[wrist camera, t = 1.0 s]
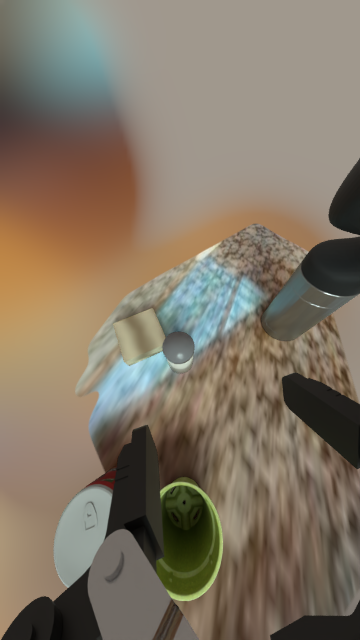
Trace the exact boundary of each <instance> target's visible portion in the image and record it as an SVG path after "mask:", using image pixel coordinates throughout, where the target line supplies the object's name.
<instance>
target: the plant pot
mask: <svg viewBox="0 0 360 640" xmlns="http://www.w3.org/2000/svg"><path fill="white" fill-rule="evenodd" d="M174 486H176V488H175V489H174V491H173V493H172V494H171V490H172V488H173V487H174ZM193 488H194V489H195V490H196V491H195V490H194V489H193ZM160 497H161V512H162V528H163V543H164V557H163V558H161V559H159V560H157V561H156V566H157V576H158V577H159V579H160V580H161V582H162V584H163V585H164V587H165V589H166V590H167V592H168V593H169V595H170V597H171V598H173V599H176V600H180V601H190V600H193V599H196V598H198V597H200V596H201V595H202V594H204V593H205V592H206V591H207V590H208V589H209V587H210V586H211V585H212V583H213V582H214V580H215V577H216V575H217V573H218V570H219V567H220V564H221V559H222V551H223V536H222V528H221V523H220V519H219V516H218V513H217V511H216V509H215V506H214V504H213V503H212V501H211V499H210V498H209V497H208V495H207V494H206V493H205V492H204V491H203V490H202V489H201V488H199V486H198V485H197V483H196V482H195V481H193V480H192V479H190V478H188V477H181V478H178V479H176V480H174V481H173V482H172V483H171V484H168V485H167V486H165V487H164V488H162V489H161V490H160ZM184 500H185V501H186V504H185V505H184V504H183V501H184ZM197 510H199V514H198V516H197V518H196V519H193V517H194V516H195V515H196V513H197ZM172 513H174V515H175V516H176V517H177V518H178V519H179V522H177V521H176V520H175V519H174V518H173V516H172Z"/></svg>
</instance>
